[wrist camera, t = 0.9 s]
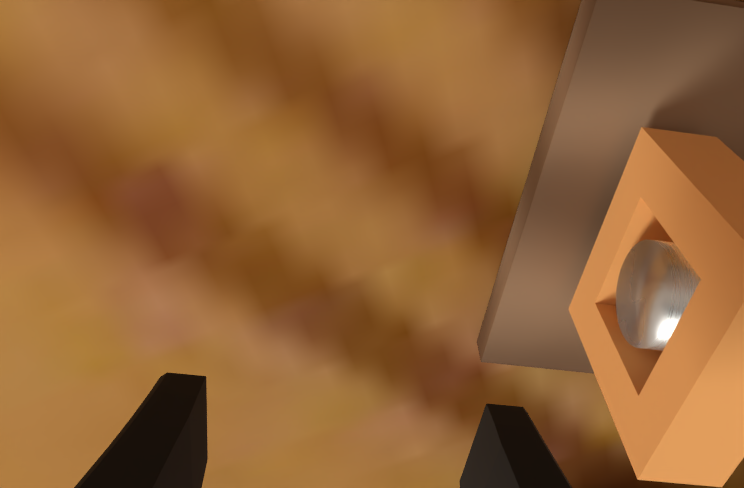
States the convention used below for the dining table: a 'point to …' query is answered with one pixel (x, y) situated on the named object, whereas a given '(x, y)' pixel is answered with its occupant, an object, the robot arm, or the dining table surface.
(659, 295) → the pipe
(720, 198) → the collar
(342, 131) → the dining table surface
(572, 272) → the pipe board
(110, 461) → the robot arm
